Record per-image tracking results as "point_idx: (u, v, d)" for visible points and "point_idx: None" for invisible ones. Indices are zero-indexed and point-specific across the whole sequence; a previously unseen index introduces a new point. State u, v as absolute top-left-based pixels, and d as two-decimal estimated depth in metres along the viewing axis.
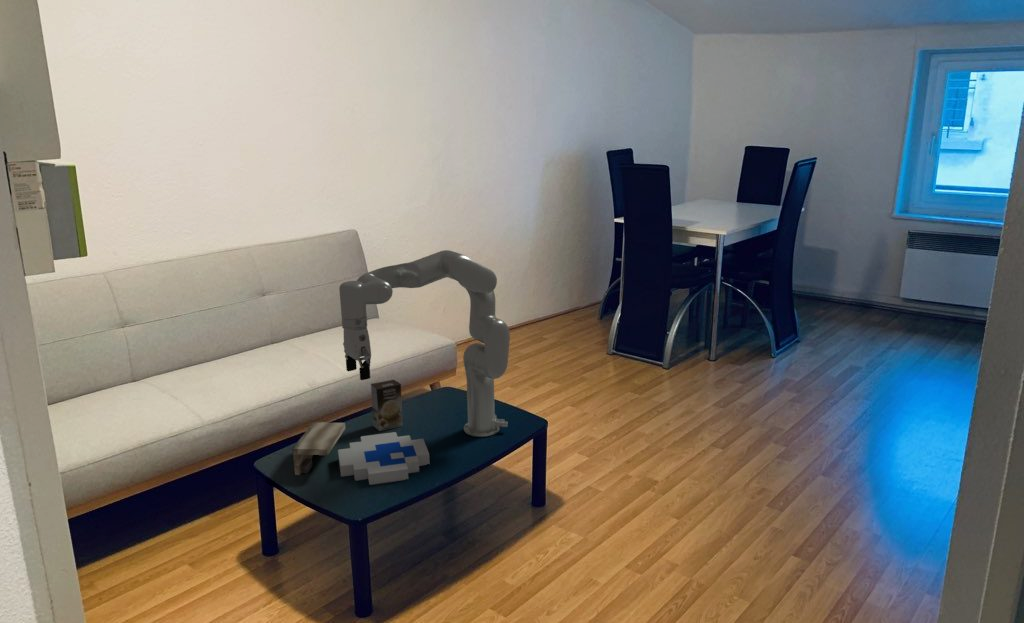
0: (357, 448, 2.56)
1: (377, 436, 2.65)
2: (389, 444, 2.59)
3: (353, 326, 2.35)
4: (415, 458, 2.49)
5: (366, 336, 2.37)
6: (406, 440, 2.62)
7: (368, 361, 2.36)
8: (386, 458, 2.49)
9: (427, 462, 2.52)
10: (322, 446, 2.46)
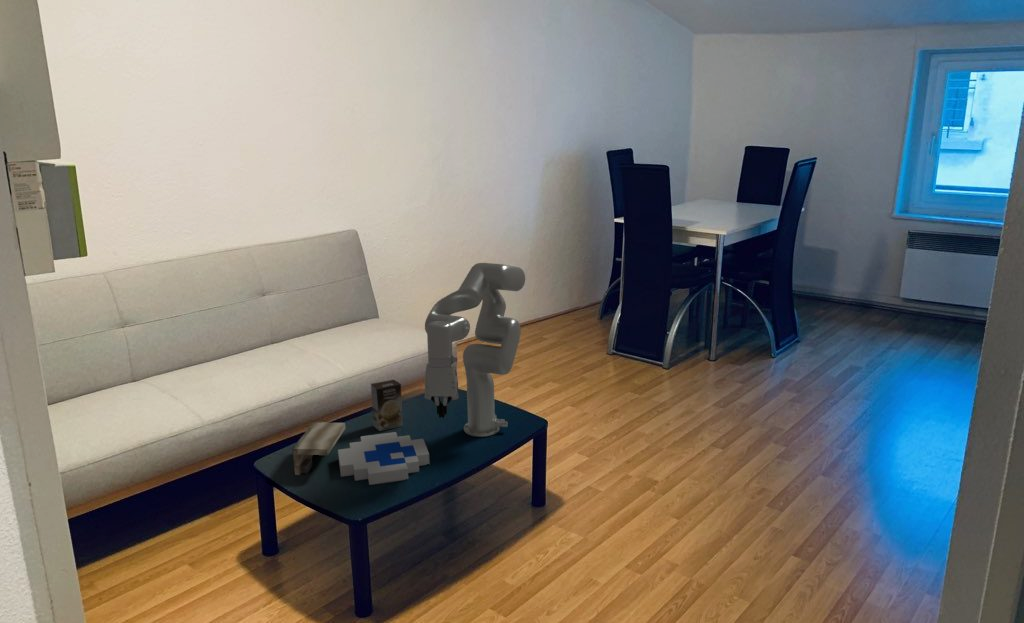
0: (357, 448, 2.56)
1: (377, 436, 2.65)
2: (389, 444, 2.59)
3: (449, 364, 2.41)
4: (415, 458, 2.49)
5: (456, 371, 2.45)
6: (406, 439, 2.62)
7: None
8: (386, 458, 2.49)
9: (427, 461, 2.52)
10: (322, 446, 2.46)
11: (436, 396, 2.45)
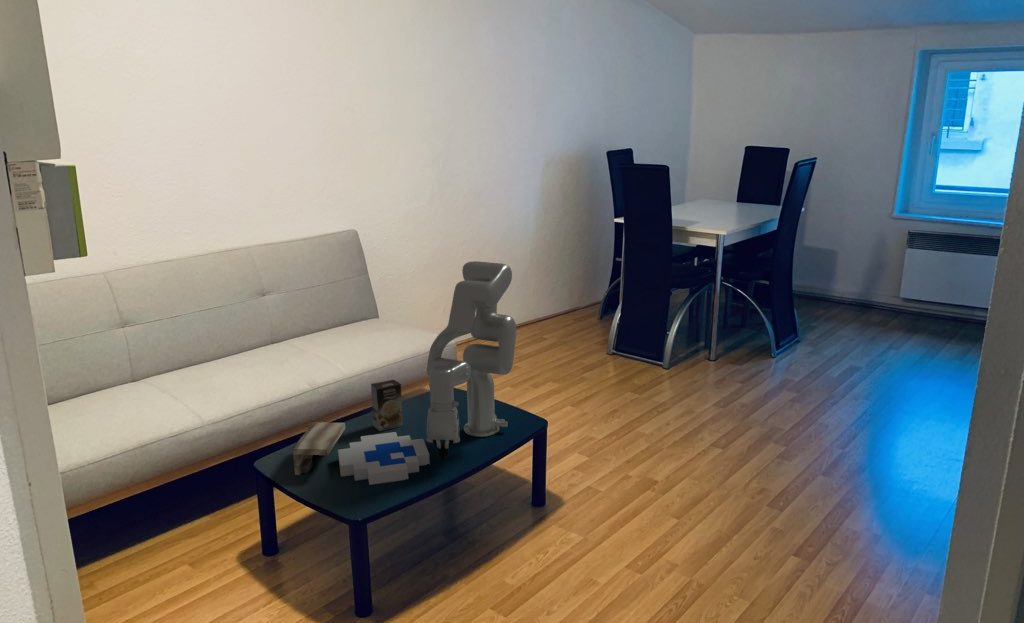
0: (357, 448, 2.56)
1: (377, 436, 2.65)
2: (389, 444, 2.59)
3: (451, 408, 2.45)
4: (415, 458, 2.49)
5: None
6: (406, 439, 2.62)
7: None
8: (386, 458, 2.49)
9: (427, 461, 2.52)
10: (322, 446, 2.46)
11: (438, 439, 2.49)
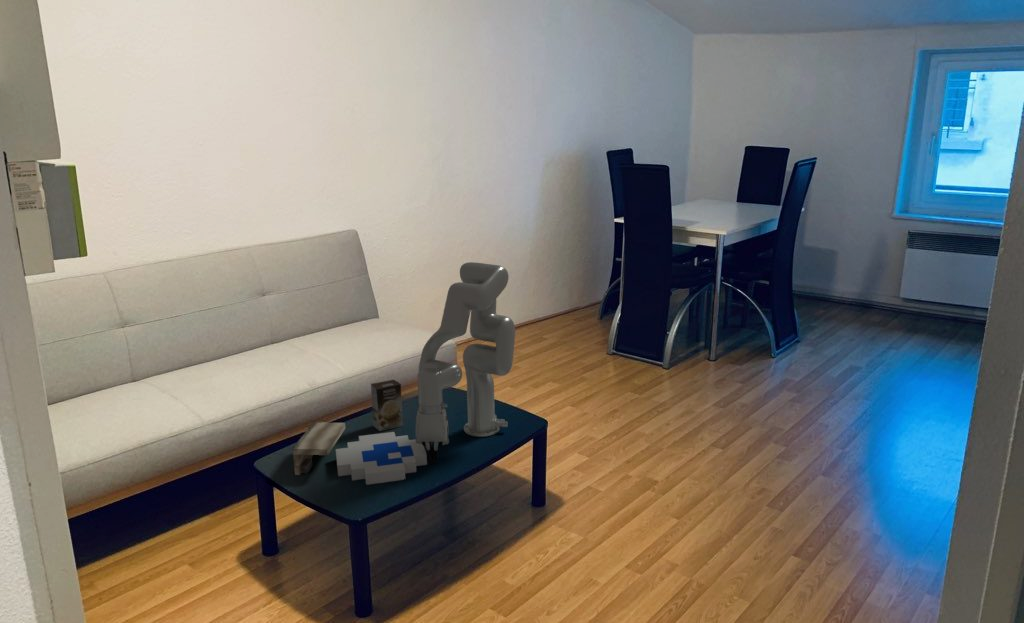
0: (355, 447, 2.57)
1: (375, 436, 2.65)
2: (386, 443, 2.59)
3: (440, 410, 2.46)
4: (412, 458, 2.49)
5: (446, 416, 2.50)
6: (404, 439, 2.62)
7: None
8: (383, 457, 2.49)
9: (424, 462, 2.52)
10: (322, 446, 2.46)
11: (427, 441, 2.50)
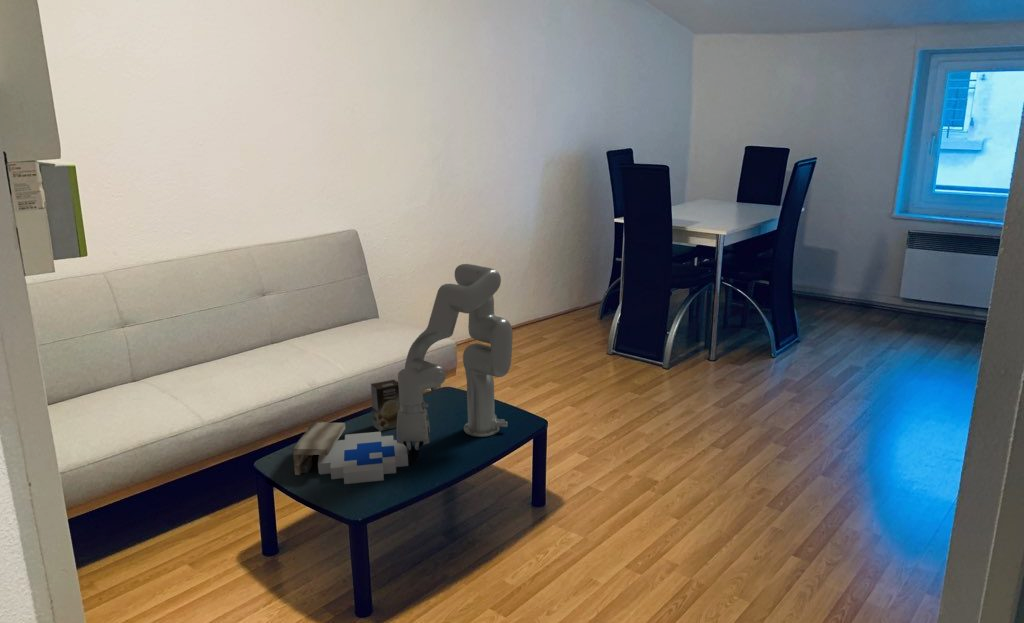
0: (339, 446, 2.58)
1: (361, 435, 2.66)
2: (370, 443, 2.59)
3: (420, 410, 2.47)
4: (393, 459, 2.48)
5: (427, 416, 2.51)
6: (388, 440, 2.62)
7: None
8: (364, 457, 2.50)
9: (405, 463, 2.51)
10: (322, 446, 2.46)
11: (408, 441, 2.50)
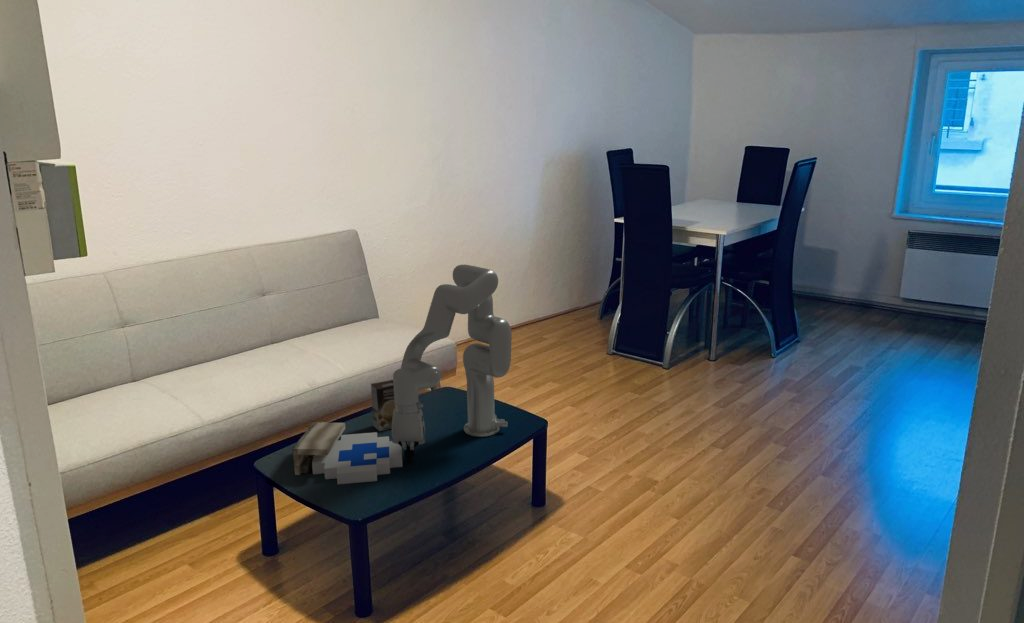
0: (334, 446, 2.58)
1: (357, 435, 2.66)
2: (366, 444, 2.59)
3: (415, 410, 2.47)
4: (387, 460, 2.48)
5: None
6: (384, 440, 2.62)
7: None
8: (359, 458, 2.50)
9: (400, 464, 2.51)
10: (322, 446, 2.46)
11: (403, 441, 2.50)
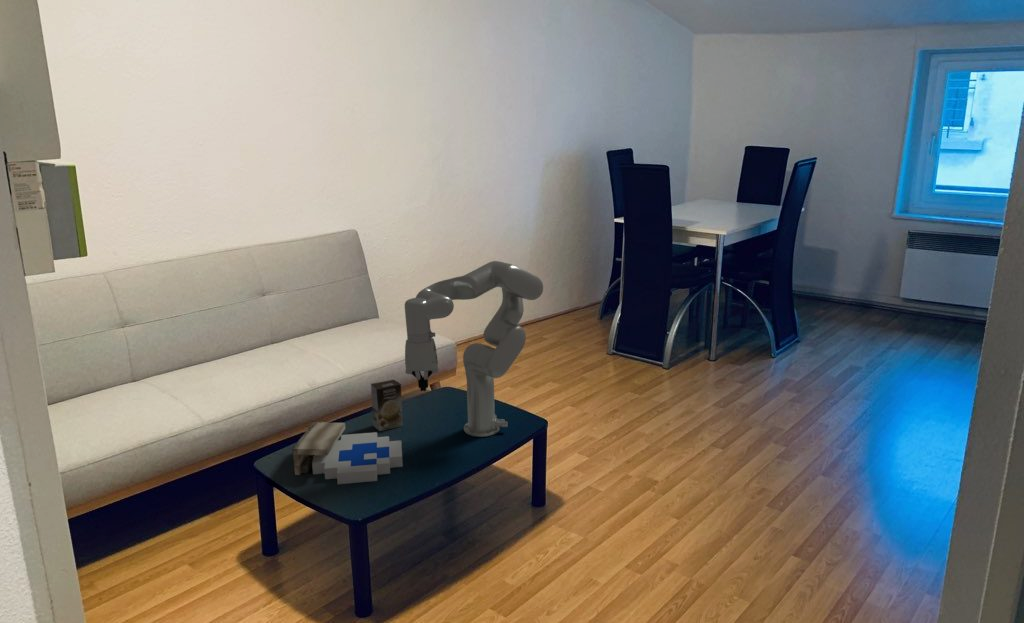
0: (334, 446, 2.58)
1: (357, 435, 2.66)
2: (366, 444, 2.59)
3: (428, 339, 2.49)
4: (387, 460, 2.48)
5: None
6: (384, 440, 2.62)
7: None
8: (359, 458, 2.50)
9: (400, 464, 2.51)
10: (322, 446, 2.46)
11: (417, 371, 2.52)
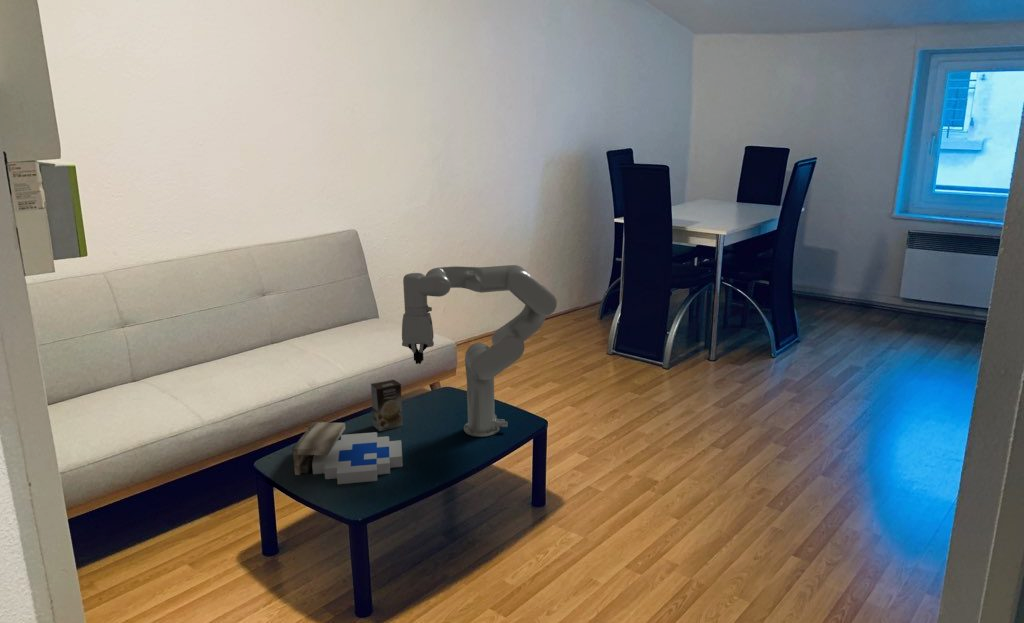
0: (334, 446, 2.58)
1: (357, 435, 2.66)
2: (366, 444, 2.59)
3: (424, 313, 2.59)
4: (387, 460, 2.48)
5: (431, 320, 2.63)
6: (384, 440, 2.62)
7: None
8: (359, 458, 2.50)
9: (400, 464, 2.51)
10: (322, 446, 2.46)
11: (413, 343, 2.62)
